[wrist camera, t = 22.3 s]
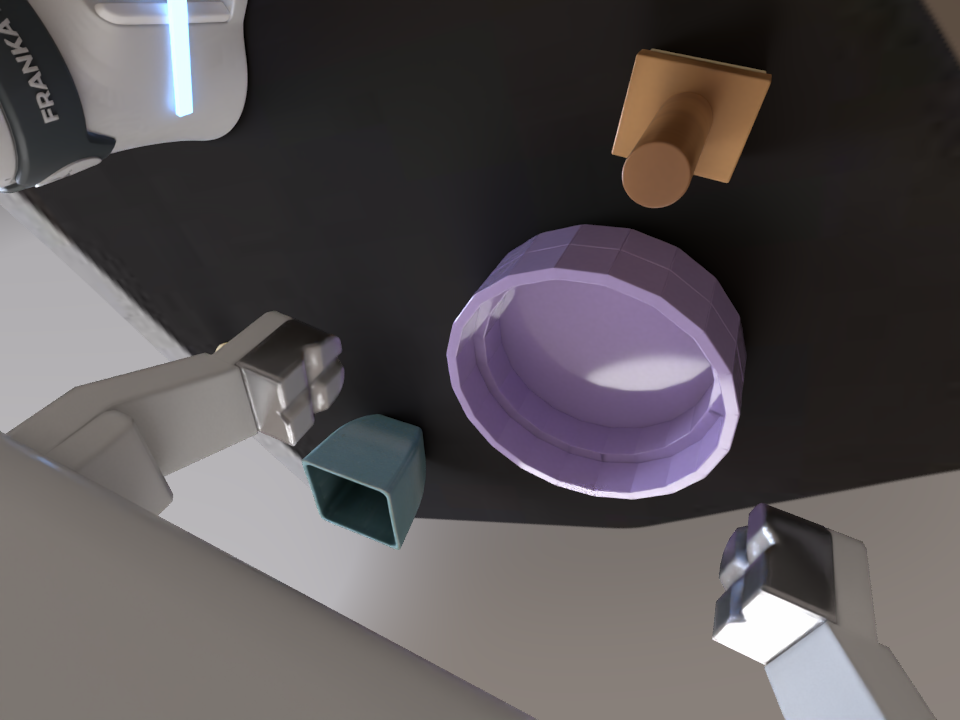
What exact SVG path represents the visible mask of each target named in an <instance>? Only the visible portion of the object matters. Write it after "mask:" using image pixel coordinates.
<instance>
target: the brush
mask: <svg viewBox="0 0 960 720" xmlns="http://www.w3.org/2000/svg"><path fill="white" fill-rule="evenodd" d="M771 79H772V75H771V74H767V73H766V71H764V70H759V69H754V68H749V67H744V66H739V65H733V64H728V63H723V62H718V61H713V60H708V59H703V58H698V57H693V56H688V55H683V54H678V53H673V52H668V51H663V50H658V49H651V50H646V49H642V50H641V51H640V52H639V53H638V54H637V55H636V59H635V63H634V67H633V71H632V75H631V79H630V82H629V86H628V90H627V94H626V98H625V102H624V106H623V110H622V114H621V117H620V121H619V125H618V129H617V133H616V137H615V141H614V145H613V149H612V154H613V155H617V156H621V157H625V158H627V159H626V161H625V163H624V166H623V170H622V183H623V186H624V189H625V191H626V193H627V194H628V196H629V197H630V198H631V199H632V200H633V201H635V202H636V203H638V204H640V205H642V206H645V207H649V208H661V207H665V206H668V205H671V204H673V203H674V202H676V201H677V200H679V199H680V198H681V197H682V196H683V195H684V193H685V192H686V190H687V189H688V187H689V184H690V182H691V179H692V177H693V175H697V176H701V177H705V178H709V179H713V180H717V181H721V182H725V183H728V182H729V181H730V179H731V176H732V174H733V172H734V169H735V167H736V164H737V162H738V160H739V157H740V155H741V153H742V150H743V148H744V145H745V143H746V141H747V138H748V136H749V134H750V131H751V129H752V127H753V124H754V122H755V119H756V117H757V115H758V112H759V110H760V108H761V105H762V103H763V100H764V98H765V96H766V93H767V91H768V89H769V86H770V84H771Z"/></svg>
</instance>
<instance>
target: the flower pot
mask: <svg viewBox="0 0 960 720" xmlns="http://www.w3.org/2000/svg"><path fill="white" fill-rule="evenodd" d="M302 465H303V468H304V471H305V474H306V476H307V479H308V482H309V484H310V487H311V490H312V493H313V496H314V499H315V503H316V506H317V509H318V511H319V514H320V516H321V518H322V519H324V520H326V521H328V522H330V523H332V524H335V525H337V526H340V527H342V528H345V529H348V530H350V531H352V532H355V533H358V534H360V535H362V536H365V537H367V538H370V539H372V540H375V541H377V542H380V543H382V544H384V545H386V546H389V547H391V548H394V549H398V550H399V549H400V548H401V546H402V544H403V542H404V540H405V537H406V535H407V533H408V531H409V529H410V526H411V524H412V522H413V519H414V517H415V515H416V513H417V510H418V508H419V505H420V502H421V499H422V495H423V491H424V485H425V473H426V459H425V451H424V442H423V433H422V430H421V428H419V427H417V426H414V425H411V424H408V423H405V422H402V421H399V420H396V419H392V418H389V417H386V416H383V415H380V414H375V415H369V416H365V417H361V418H358V419H355V420H353V421H351V422H349V423H347V424H345V425H343V426H342V427H340V428H339V429H337V430H336V431H335V432H334V433H332V434H331V435H330V436H329V437H328V438H327V439H326V440H324V441H323V442H322V443H321V444H320V445H319V446H317V447H316V448H315V449H314V450H313V451H312V452H311V453H310V454H308V455H307V456H306V457H305V458H304V459H303V460H302Z"/></svg>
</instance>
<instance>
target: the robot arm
mask: <svg viewBox="0 0 960 720" xmlns="http://www.w3.org/2000/svg"><path fill="white" fill-rule="evenodd" d="M247 1H248V0H0V192H1V193H14V192H17V191H20V190H23V189H26V188H30V187H33V186H35V187H39V186H42V185H45V184H48V183H51V182H54V181H56V180H59V179H62V178H64V177H67V176H70V175H72V174H75V173H77V172H80V171H82V170H85V169H87V168H89V167H92V166H94V165H97V164H99V163H100V162H101V161H102V160H103V159H105V158H106V157H107V156H108V155H109V154H110V153H114V152H118V151H122V150H127V149H131V148H136V147H141V146H146V145H152V144H158V143H165V142H174V141H189V140H199V141H206V140H214V139H217V138H220V137H222V136H224V135H225V134H227V133H228V132H229V131H230V130H231V129H232V128H233V127H234V126H235V124H236V123H237V121H238V120H239V118H240V116H241V113H242V111H243V108H244V104H245V100H246V94H247V81H248V74H247V59H246V51H245V44H244V34H243V21H244V16H245V12H246V6H247ZM341 352H342V349H341V342H340V339H339V338H338V337H336V336H334V335H332V334H329V333H327V332H325V331H322V330H320V329H318V328H315V327H313V326H311V325H308V324H306V323H304V322H301V321H299V320H296V319H293V318H291V317H289V316H286V315H284V314H281V313H279V312H277V311H271V312H267V313H265V314H264V315H262V316H261V317H260V318H259V319H257V320H256V321H255V322H253V323H252V324H251V325H250V326H248V327H247V328H246V329H244V330H243V331H242V332H241V333H239V334H238V335H237V336H235V337H234V338H233V339H232V340H230V341H229V342H228V343H226V344H225V345H224V346H223V347H221V348H220V349H219V350H217V351H216V352H215V353H214V354H212V355H210V354H207V353H203V354H199V355H195V356H191V357H187V358H184V359H180V360H176V361H172V362H168V363H165V364H161V365H157V366H153V367H150V368H146V369H142V370H138V371H134V372H130V373H127V374H123V375H119V376H115V377H111V378H108V379H104V380H100V381H96V382H92V383H89V384H85V385H81V386H77V387H74V388H73V389H71V390H70V391H68V392H67V393H65V394H64V395H63V396H61V397H60V398H58V399H56V400H55V401H53V402H52V403H51V404H49V405H48V406H46V407H45V408H43V409H42V410H40V411H39V412H37V413H36V414H34V415H33V416H31V417H30V418H28V419H27V420H25V421H24V422H22V423H21V424H20V425H18V426H17V427H15V428H14V429H12V430H11V431H9V432H8V433H6V434H4V433H2V432H1V431H0V720H537V719H536V718H534V717H532V716H530V715H528V714H526V713H524V712H522V711H521V710H519V709H517V708H515V707H513V706H511V705H509V704H508V703H506V702H504V701H502V700H500V699H498V698H496V697H495V696H493V695H491V694H489V693H487V692H485V691H483V690H481V689H480V688H478V687H476V686H474V685H472V684H470V683H468V682H467V681H465V680H463V679H461V678H459V677H457V676H455V675H454V674H452V673H450V672H448V671H446V670H444V669H442V668H440V667H439V666H437V665H435V664H433V663H431V662H429V661H428V660H426V659H424V658H422V657H420V656H418V655H416V654H414V653H413V652H411V651H409V650H407V649H405V648H403V647H401V646H400V645H398V644H396V643H394V642H392V641H390V640H388V639H387V638H385V637H383V636H381V635H379V634H377V633H375V632H373V631H371V630H370V629H368V628H366V627H364V626H362V625H360V624H359V623H357V622H355V621H353V620H351V619H349V618H347V617H345V616H344V615H342V614H340V613H338V612H336V611H334V610H332V609H331V608H329V607H327V606H325V605H323V604H321V603H319V602H317V601H316V600H314V599H312V598H310V597H308V596H306V595H305V594H303V593H301V592H299V591H297V590H295V589H293V588H291V587H290V586H288V585H286V584H284V583H282V582H280V581H278V580H277V579H275V578H273V577H271V576H269V575H267V574H265V573H263V572H262V571H260V570H258V569H256V568H254V567H252V566H250V565H249V564H247V563H245V562H243V561H241V560H239V559H237V558H235V557H233V556H232V555H230V554H228V553H226V552H224V551H222V550H220V549H219V548H217V547H215V546H213V545H211V544H209V543H207V542H206V541H204V540H202V539H200V538H198V537H196V536H194V535H193V534H191V533H189V532H187V531H185V530H183V529H181V528H180V527H178V526H176V525H174V524H172V523H170V522H168V521H166V520H165V519H163V518H161V517H159V516H158V515H159V514H160V513H161V512H162V511H163V510H164V509H165V508H166V507H167V506H168V505H169V504H170V503H171V502H172V500H173V493H172V491H171V489H170V487H169V486H168V484H167V482H166V480H165V478H164V476H166V475H168V474H170V473H172V472H175V471H177V470H179V469H181V468H184V467H186V466H188V465H190V464H192V463H195V462H197V461H199V460H201V459H203V458H205V457H208V456H210V455H212V454H214V453H216V452H219V451H221V450H223V449H225V448H227V447H230V446H232V445H234V444H236V443H238V442H240V441H243V440H245V439H247V438H249V437H251V436H254V435H256V434H258V431H259V432H261V433H264V434H266V435H269V436H271V437H273V438H276V439H278V440H280V441H283V442H285V443H287V444H290V445H292V446H294V445H295V444H296V443H297V442H298V441H299V440H300V438H301V437H302V436H303V435H304V434H305V433H306V432H307V431H308V430H309V429H310V428H311V427H312V425H313V424H314V419H315V413H317V412H320V411H323V410H325V409H328V408H329V407H330V406H331V404H332V403H333V402H334V401H335V400H336V399H337V397H338V395H339V393H340V391H341V389H342V387H343V381H344V367H343V366H342V364H341V363H340V361H339V360H338V358H337V356H338V355H339V354H340V353H341ZM719 579H720V581H721V583H722V585H723V587H724V589H725V593H724V594H723V595H722V596H721V597H720V598H719V599H718V600H717V602H716V608H715V618H714V628H713V640H716V641H717V642H720V643H721V644H724V645H726V646H728V647H730V648H732V649H734V650H736V651H738V652H740V653H742V654H744V655H746V656H748V657H750V658H752V659H754V660H756V661H758V662H760V663H762V664H764V665H766V666H765V667H764V668H765V671H766V673H767V676H768V678H769V681H770V683H771V686H772V688H773V691H774V693H775V696H776V698H777V701H778V703H779V706H780V708H781V711H782V713H783V716H784V718H785V720H937V719H936V718H935V716H934V715H933V713H932V712H931V710H930V709H929V707H928V706H927V704H926V703H925V701H924V700H923V698H922V697H921V695H920V694H919V692H918V691H917V689H916V688H915V686H914V685H913V683H912V681H911V680H910V678H909V677H908V676H907V674H906V673H905V671H904V670H903V668H902V667H901V665H900V663H899V662H898V660H897V659H896V657H895V656H894V654H893V653H892V651H891V650H890V648H889V647H887V646H884V645H882V644H880V643H878V640H877V631H876V624H875V623H876V622H875V614H874V606H873V598H872V590H871V583H870V574H869V566H868V558H867V549H866V547H865V545H864V544H863V542H862V541H859V540H857V539H854V538H852V537H849V536H847V535H844V534H841V533H839V532H836V531H834V530H831V529H829V528H825V527H824V526H821V525H819V524H816V523H814V522H811V521H808V520H806V519H803V518H801V517H798V516H795V515H793V514H790V513H788V512H785V511H782V510H780V509H777V508H774V507H772V506H769V505H767V504H764V503H760V504H758V505H756V506H755V507H754V509H753V510H752V511H751V512H750V513H749V520H748V526H744V527H739V528H737V529H736V530H735V532H734V533H733V535H732V536H731V537H730V539H729V541H728V543H727V545H726V548H725V550H724V552H723V557H722V561H721V565H720V572H719Z"/></svg>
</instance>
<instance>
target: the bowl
mask: <svg viewBox="0 0 960 720" xmlns="http://www.w3.org/2000/svg"><path fill="white" fill-rule="evenodd" d="M447 360H448V366H449V372H450V378H451V384H452V388H453V390H454V392H455V394H456V396H457V398H458V400H459V402H460V404H461V406H462V408H463V410H464V412H465V414H466V416H467V417H468V419H469V420H470V421H471V422H472V423H473V425H474V426H475V427H476V428H477V429H478V430H479V432H480V433H481V434H482V435H483V436H484V437H485V438H486V440H487V441H488V442H489V443H490V444H491V445H492V446H493V447H494V448H496V449H497V450H498V451H499V452H501V453H502V454H503V455H505V456H506V457H507V458H509V459H510V460H511V461H513V462H514V463H515V464H516V465H518V466H519V467H520V468H522V469H524V470H526V471H528V472H530V473H532V474H534V475H536V476H538V477H540V478H542V479H544V480H546V481H548V482H550V483H552V484H554V485H557V486H560V487H563V488H567V489H570V490H574V491H577V492H581V493H584V494H588V495H591V496H596V497H608V498H622V499H641V498H647V497H653V496H659V495H666V494H672V493H675V492H677V491H679V490H681V489H683V488H685V487H687V486H689V485H691V484H693V483H695V482H697V481H699V480H701V479H703V478H705V477H706V476H707V475H708V474H709V473H710V472H711V471H712V470H713V468H714V467H715V466H716V465H717V464H718V463H719V462H720V461H721V460H722V458H723V457H724V456H725V455H726V454H727V453H728V452H729V450H730V449H731V445H732V442H733V438H734V435H735V431H736V428H737V424H738V420H739V417H740V410H741V401H742V392H743V383H744V374H745V365H746V349H745V343H744V337H743V332H742V326H741V320H740V317H739V314H738V312H737V311H736V309H735V308H734V306H733V304H732V303H731V301H730V300H729V298H728V296H727V295H726V293H725V292H724V290H723V288H722V287H721V285H720V283H719V282H718V280H717V279H716V278H715V277H714V276H713V275H712V274H710V273H709V272H708V271H707V270H706V269H704V268H703V267H702V266H701V265H699V264H698V263H697V262H696V261H694V260H693V259H692V258H691V257H689V256H688V255H687V254H686V253H685V252H683V251H682V250H681V249H680V248H677V247H676V246H674V245H671V244H669V243H666V242H664V241H661V240H659V239H656V238H654V237H651V236H649V235H646V234H644V233H641V232H639V231H636V230H634V229H630V228H620V227H609V226H598V225H587V224H583V225H577V226H572V227H568V228H563V229H558V230H554V231H549V232H545V233H541V234H538V235H537V236H535V237H533V238H532V239H530V240H529V241H527V242H525V243H524V244H522V245H520V246H519V247H517V248H516V249H514V250H512V251H511V252H509V253H508V254H507V255H506V256H505V257H504V259H503V260H502V261H501V262H500V264H499V265H498V266H497V267H496V268H495V270H494V271H493V272H492V273H491V275H490V276H489V277H488V278H487V279H486V281H485V282H484V283H483V284H482V285H481V287H480V288H479V289H478V290H477V292H476V293H475V294H474V295H473V296H472V298H471V299H470V301H469V302H468V303H467V305H466V306H465V307H464V309H463V310H462V311H461V313H460V314H459V316H458V317H457V318H456V320H455V321H454V323H453V326H452V330H451V335H450V340H449V345H448V349H447Z"/></svg>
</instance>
